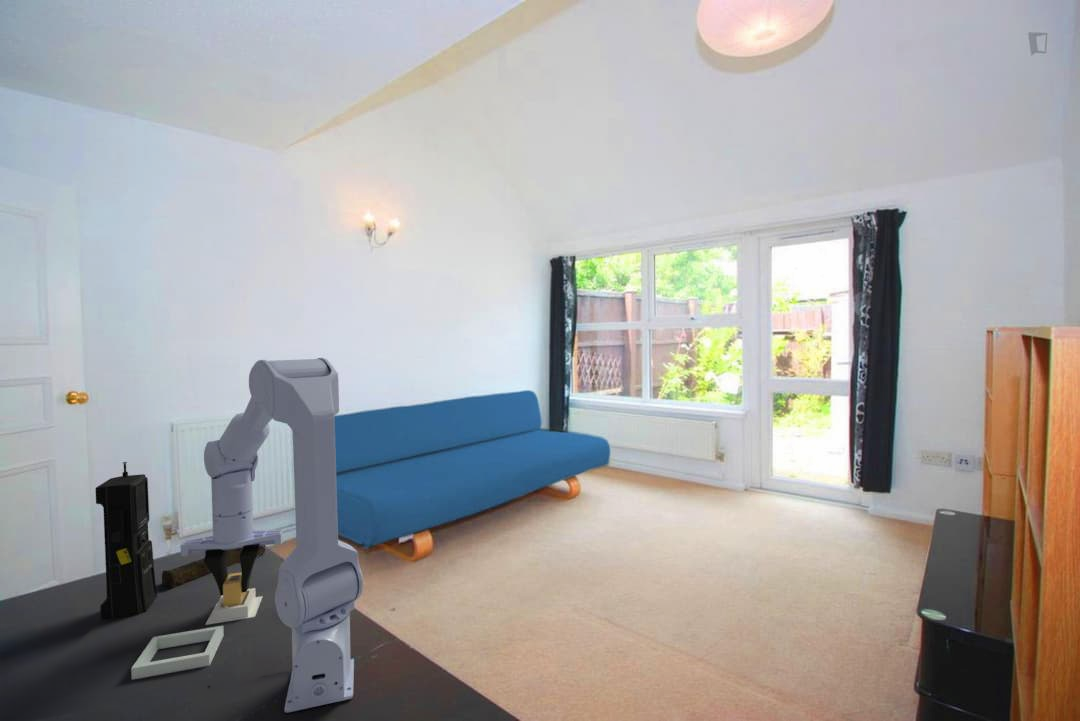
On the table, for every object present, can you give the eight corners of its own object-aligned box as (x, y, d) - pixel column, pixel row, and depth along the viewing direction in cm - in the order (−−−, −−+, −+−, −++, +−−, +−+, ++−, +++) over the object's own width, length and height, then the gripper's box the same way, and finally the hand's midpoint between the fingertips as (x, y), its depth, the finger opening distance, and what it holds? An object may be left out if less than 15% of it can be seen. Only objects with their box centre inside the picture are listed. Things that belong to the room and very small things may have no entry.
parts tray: (209, 670, 71) (209, 654, 71) (131, 685, 68) (131, 668, 68) (223, 640, 78) (223, 625, 78) (153, 651, 75) (153, 636, 75)
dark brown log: (170, 595, 92) (169, 570, 92) (160, 589, 94) (159, 565, 94) (272, 557, 108) (271, 536, 108) (261, 553, 110) (261, 532, 110)
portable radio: (143, 621, 83) (137, 470, 82) (97, 628, 81) (91, 474, 80) (158, 598, 91) (154, 459, 90) (117, 604, 89) (111, 462, 87)
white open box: (254, 621, 83) (254, 605, 83) (205, 629, 81) (204, 613, 81) (262, 600, 90) (262, 586, 90) (217, 607, 88) (216, 592, 87)
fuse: (241, 614, 84) (240, 581, 84) (223, 617, 83) (222, 584, 83) (246, 602, 88) (245, 571, 87) (229, 605, 87) (228, 573, 87)
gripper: (284, 499, 91) (286, 573, 91) (189, 508, 86) (191, 586, 87) (278, 512, 84) (280, 592, 85) (174, 522, 79) (177, 607, 80)
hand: (234, 591), depth 85 cm, fingers closed on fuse, 2 cm apart
